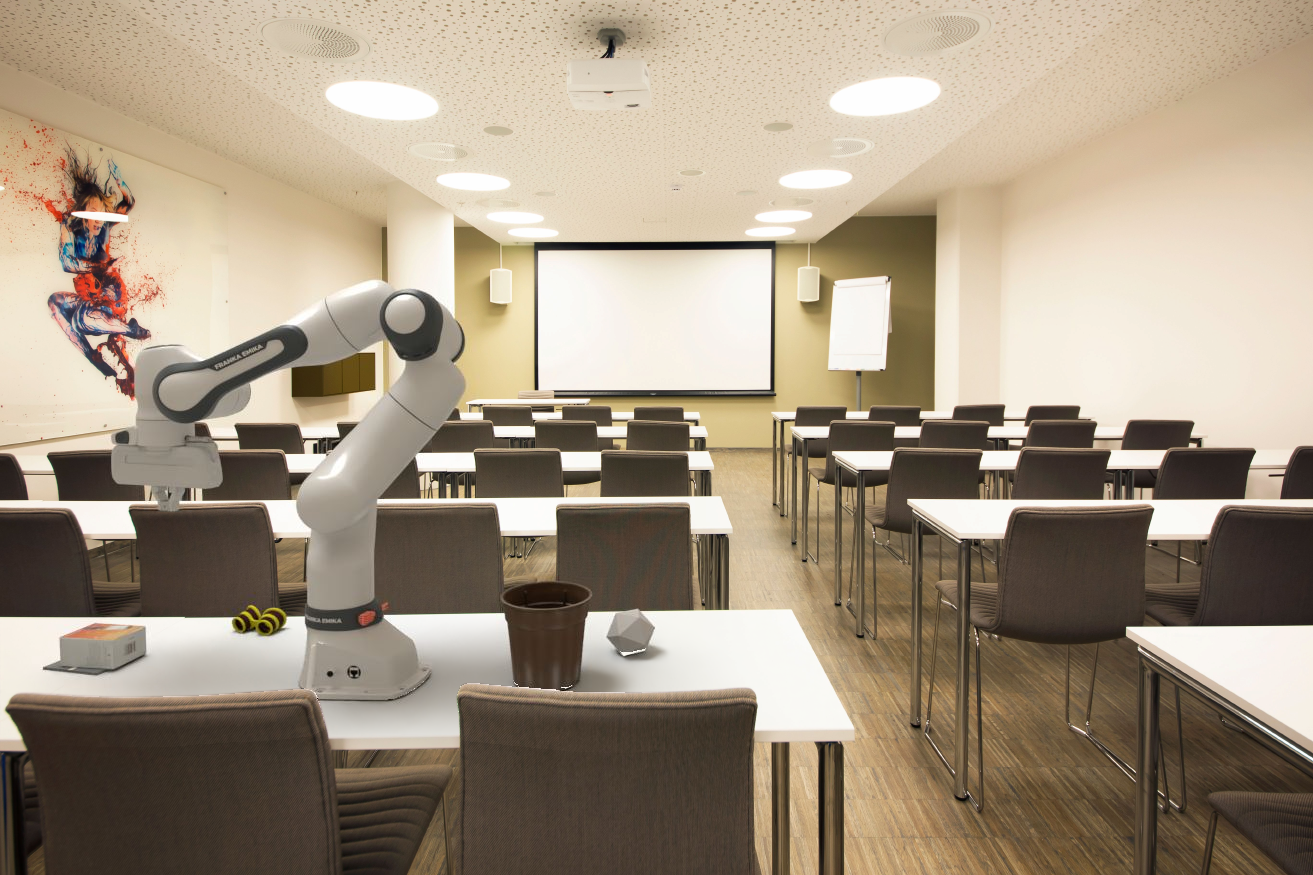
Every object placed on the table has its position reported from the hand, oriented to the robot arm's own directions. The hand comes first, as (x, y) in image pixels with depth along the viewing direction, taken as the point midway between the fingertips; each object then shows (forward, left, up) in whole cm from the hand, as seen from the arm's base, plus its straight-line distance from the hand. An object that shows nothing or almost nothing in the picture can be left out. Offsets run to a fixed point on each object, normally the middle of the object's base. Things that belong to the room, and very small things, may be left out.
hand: (168, 510), depth 133 cm
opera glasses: (-2, -19, -30) cm, 35 cm away
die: (-81, -26, -29) cm, 90 cm away
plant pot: (-69, -9, -29) cm, 76 cm away
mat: (+15, +2, -29) cm, 33 cm away
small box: (+8, +1, -26) cm, 27 cm away
